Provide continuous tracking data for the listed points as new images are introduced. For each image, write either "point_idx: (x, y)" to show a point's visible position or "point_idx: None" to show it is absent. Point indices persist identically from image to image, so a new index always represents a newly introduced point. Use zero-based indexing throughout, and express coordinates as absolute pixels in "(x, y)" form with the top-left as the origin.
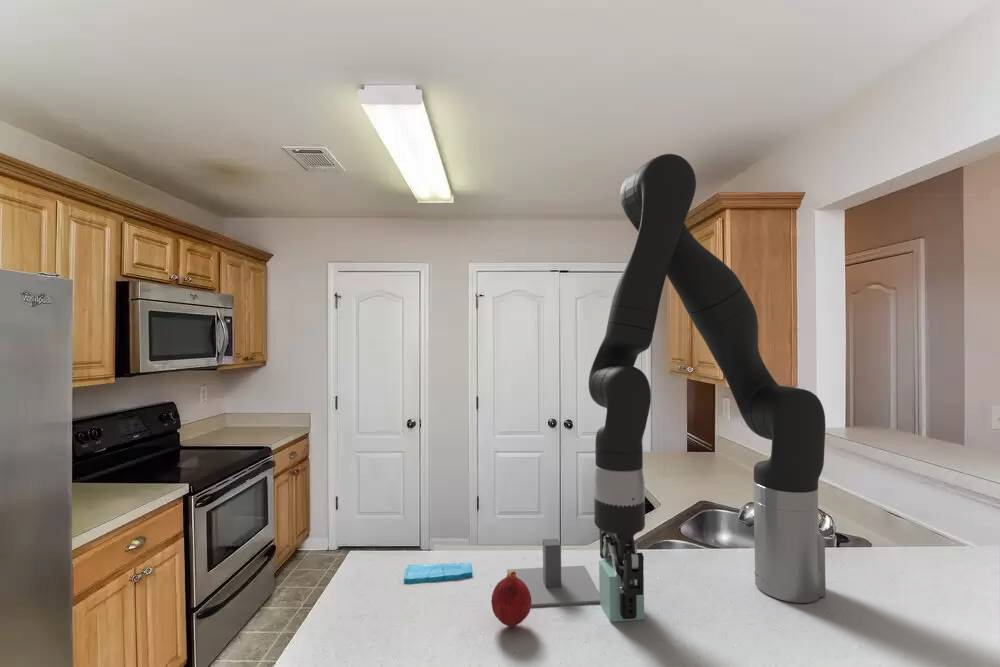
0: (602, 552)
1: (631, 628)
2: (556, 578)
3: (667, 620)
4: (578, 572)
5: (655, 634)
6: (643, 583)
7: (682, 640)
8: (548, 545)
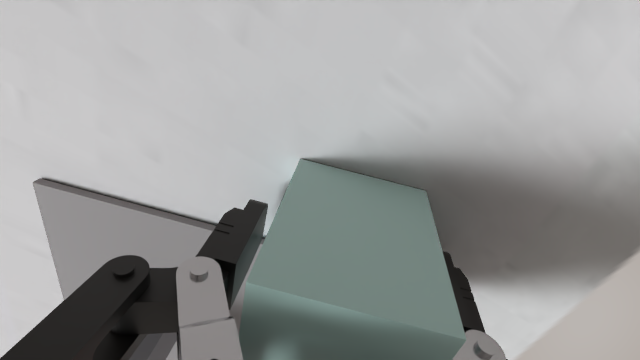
0: (136, 346)
1: (445, 250)
2: (167, 335)
3: (475, 116)
4: (88, 223)
5: (517, 209)
6: (453, 296)
7: (612, 150)
8: None
